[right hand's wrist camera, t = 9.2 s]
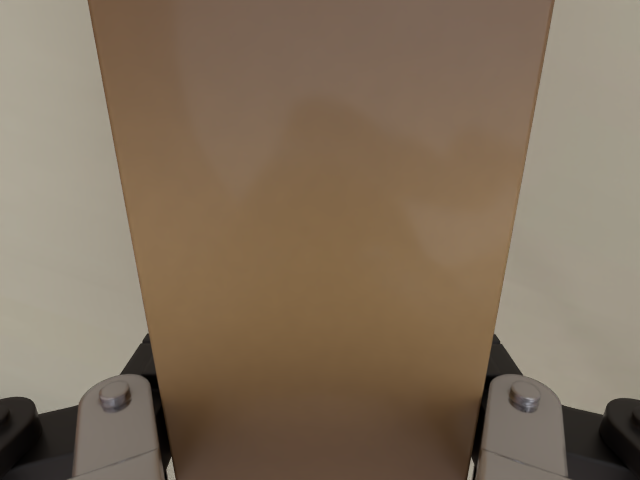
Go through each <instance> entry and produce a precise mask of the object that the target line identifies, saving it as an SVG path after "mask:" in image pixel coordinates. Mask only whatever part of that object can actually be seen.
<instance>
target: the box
mask: <svg viewBox="0 0 640 480" xmlns="http://www.w3.org/2000/svg"><path fill="white" fill-rule="evenodd" d="M554 1H555V0H88V5H89V10H90V16H91V21H92V26H93V32H94V37H95V43H96V48H97V54H98V59H99V64H100V70H101V75H102V81H103V86H104V92H105V97H106V103H107V108H108V113H109V119H110V124H111V130H112V135H113V141H114V146H115V151H116V157H117V162H118V168H119V173H120V179H121V184H122V189H123V195H124V200H125V206H126V211H127V217H128V222H129V228H130V233H131V238H132V244H133V249H134V255H135V260H136V266H137V271H138V276H139V282H140V287H141V293H142V298H143V304H144V309H145V314H146V320H147V325H148V331H149V336H150V342H151V347H152V353H153V358H154V363H155V369H156V374H157V380H158V385H159V391H160V396H161V401H162V407H163V412H164V418H165V423H166V429H167V434H168V439H169V445H170V450H171V456H172V461H173V467H174V472H175V478H176V480H467V477H468V471H469V466H470V460H471V455H472V449H473V444H474V438H475V433H476V427H477V422H478V416H479V411H480V406H481V400H482V395H483V389H484V384H485V378H486V373H487V367H488V362H489V356H490V351H491V345H492V340H493V334H494V329H495V324H496V318H497V313H498V307H499V302H500V296H501V291H502V285H503V280H504V274H505V269H506V263H507V258H508V253H509V247H510V242H511V236H512V231H513V225H514V220H515V214H516V209H517V203H518V198H519V192H520V187H521V182H522V176H523V171H524V165H525V160H526V154H527V149H528V143H529V138H530V132H531V127H532V121H533V116H534V111H535V105H536V100H537V94H538V89H539V83H540V78H541V72H542V67H543V61H544V56H545V50H546V45H547V39H548V34H549V29H550V23H551V18H552V12H553V7H554Z"/></svg>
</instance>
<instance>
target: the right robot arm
mask: <svg viewBox="0 0 640 480" xmlns="http://www.w3.org/2000/svg"><path fill="white" fill-rule="evenodd" d="M471 457H472V460H473V462H474V469H473V475H472V480H640V400H636V399H629V398H619V399H614V400H612V401H610V402H609V403H608V404H607V406H606V409H605V412H604V415H601V414H597V413H592V412H588V411H583V410H579V409H575V408H571V407H567V406H564V405H561V402H560V400H559V398H558V397H557V395H556V394H555V393H554V392H553V391H552V390H551V389H550V388H548V387H547V386H546V385H544V384H542V383H541V382H539V381H537V380H534V379H532V378H529V377H526V376H523V374H522V373H521V372H520V370H519V369H518V367H517V366H516V364H515V363H514V361H513V360H512V358H511V357H510V355H509V354H508V352H507V351H506V349H505V348H504V347H503V345H502V344H500V341H499V339H498V338H497V336H496V335H495V334H493V340H492V345H491V351H490V356H489V362H488V367H487V373H486V378H485V384H484V389H483V395H482V400H481V406H480V411H479V416H478V422H477V427H476V433H475V438H474V444H473V449H472V455H471ZM170 459H171V450H170V445H169V439H168V434H167V429H166V423H165V418H164V412H163V407H162V401H161V396H160V391H159V385H158V380H157V374H156V369H155V363H154V358H153V353H152V347H151V342H150V336H149V334H147V335H146V336H145V338H144V339H143V342H142V343H141V344H140V345H139V347H138V348H137V350H136V351H135V353H134V354H133V356H132V357H131V359H130V360H129V362H128V363H127V365H126V366H125V368H124V369H123V371H122V372H121V374H120V375H118V376H114V377H111V378H108V379H106V380H103V381H101V382H99V383H98V384H96V385H94V386H93V387H92V388H90V389H89V390H88V391H87V392H86V393H85V394H84V395H83V397H82V398H81V400H80V402H79V405H77V406H73V407H69V408H65V409H60V410H56V411H51V412H47V413H43V414H38V413H37V409H36V406H35V404H34V402H33V401H32V400H30V399H28V398H24V397H9V398H4V399H0V480H168V475H167V466H168V464H169V461H170Z"/></svg>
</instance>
